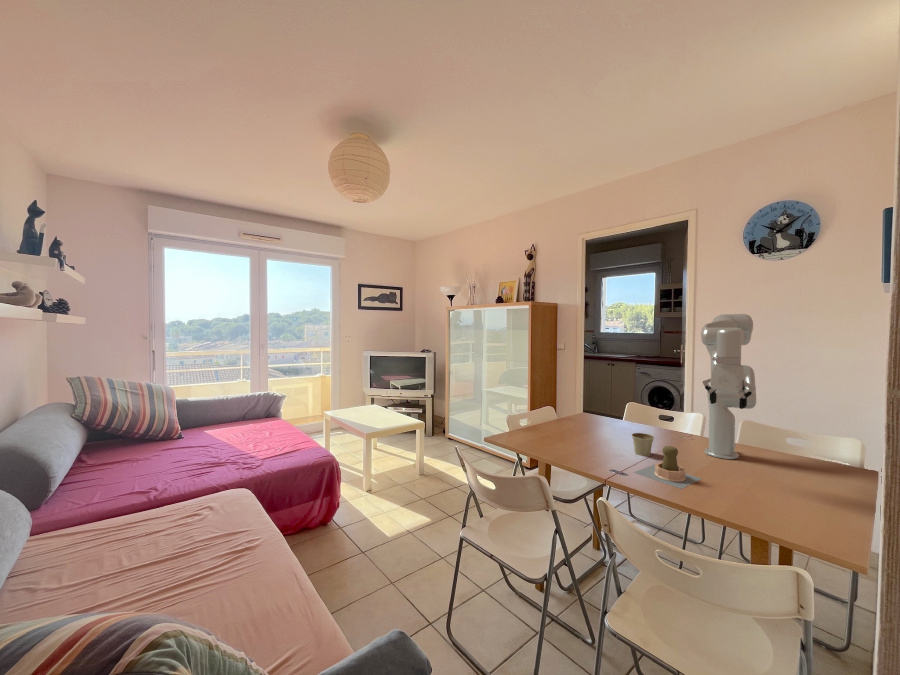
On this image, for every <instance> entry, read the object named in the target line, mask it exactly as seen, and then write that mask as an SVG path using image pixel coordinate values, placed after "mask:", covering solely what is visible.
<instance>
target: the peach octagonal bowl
mask: <svg viewBox="0 0 900 675" xmlns="http://www.w3.org/2000/svg"><path fill="white" fill-rule="evenodd" d="M662 465H663V462H657V463H655V476H656V477H658V478H660V479H663V480H666V481H671V482H683V481H685V479H686V478H685V473H686V469H685V468H684V467H683V466H681V465H678V464H677V465H678V471H668V470H665V469H662Z"/></svg>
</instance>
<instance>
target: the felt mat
mask: <svg viewBox="0 0 900 675" xmlns="http://www.w3.org/2000/svg"><path fill="white" fill-rule="evenodd" d="M655 464H656V463H655ZM655 464H652V465H649V466H647V467H643V468H641V469H638V470H636V471H633V474H636V475H640V476H642V477H645V478H648V479H651V480H653V481H656V482H660V483H662V484H665V485H667V486H668V485H669V486H671V487H674V488H677V489H680V490H682V489H684V488H686V487H689V486H690V485H693V484H694V483H696V482H699V481H701V480H703V477H698V476H694V475H691V474H689V473H686V472H685V478H686V479H685V481H683V482H671V481H666V480H663V479H660V478H658V477H656V476H655Z"/></svg>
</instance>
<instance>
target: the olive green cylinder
mask: <svg viewBox="0 0 900 675" xmlns="http://www.w3.org/2000/svg"><path fill="white" fill-rule="evenodd" d="M662 453H663V460H662V463H663V465H662V469H665V470H668V471H678V460H677V456H678V455H679V450H678V448H677V447H675V446H672V445H665V446H663V447H662Z"/></svg>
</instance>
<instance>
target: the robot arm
mask: <svg viewBox="0 0 900 675" xmlns="http://www.w3.org/2000/svg"><path fill="white" fill-rule="evenodd" d="M753 330H754V321H753V318H752V316H750V315H749V314H746V313H734V314H733V313H730V314H727V313H726V314H725V313H724V314H720V315H717V316H715V317H714V318H713V319H712V322H710V323H706V324H704V325H703V326H702V327H701V331H700V333H701V334H700V335H701V336H700V337H701V343H702V344H703V345H704V346H705V348H706V350H707V352H708V355H709V356H710V378H708V379H706V380H703V381H702V384H703V386H704V389H706V394H707V401H708V403H707V404H708V412H709V413H708V415H709V416H708V417H709V420H708V447H706V448H704V453H705V454H706V455H708V456H710V457H714V458H717V459H725V460H736V459H737V460H738V459H739V457H740V454H739V453H738V452H737V451H735V448H736V446H737V444H736V441H735V440H736V437H735V436H736V418H735V415H734V414H733V412H732V411H731V410H730V408H736V409H741V410H743V409H747V410H750V409H753V408H755V407H756V405H757V391H756V389H757V387H756V377H755V376H756V375H755V372H754V369H753V367H751V366H750V365H745V364H742V346H747V345H748V344H749V343H750V342H751V340H752V339H751V338H752V334H753Z"/></svg>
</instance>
